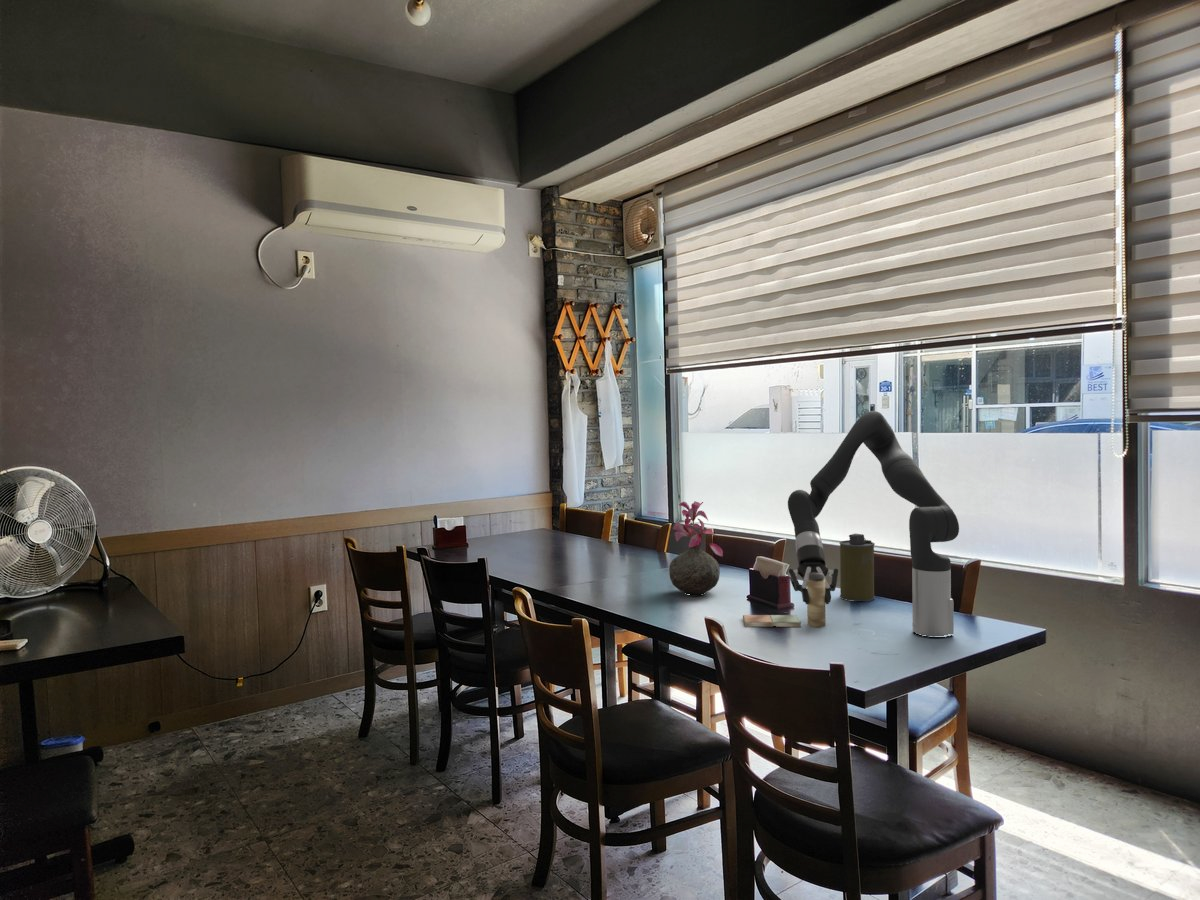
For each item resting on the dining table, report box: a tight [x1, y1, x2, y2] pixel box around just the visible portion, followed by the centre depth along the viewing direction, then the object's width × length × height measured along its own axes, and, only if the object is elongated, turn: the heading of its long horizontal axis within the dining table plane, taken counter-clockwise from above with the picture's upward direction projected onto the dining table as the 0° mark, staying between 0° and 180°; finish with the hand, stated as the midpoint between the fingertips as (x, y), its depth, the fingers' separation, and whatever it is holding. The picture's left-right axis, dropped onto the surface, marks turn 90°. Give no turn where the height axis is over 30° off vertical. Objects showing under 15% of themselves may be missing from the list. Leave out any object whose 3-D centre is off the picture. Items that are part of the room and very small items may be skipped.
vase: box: [668, 501, 724, 595], centre depth 256 cm, size 17×17×30 cm
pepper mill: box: [806, 572, 827, 628], centre depth 216 cm, size 5×5×14 cm
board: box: [742, 614, 802, 628], centre depth 220 cm, size 15×8×1 cm, turn 84°
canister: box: [839, 533, 875, 602], centre depth 246 cm, size 11×10×20 cm
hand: (817, 602), depth 214 cm, fingers closed on pepper mill, 4 cm apart
